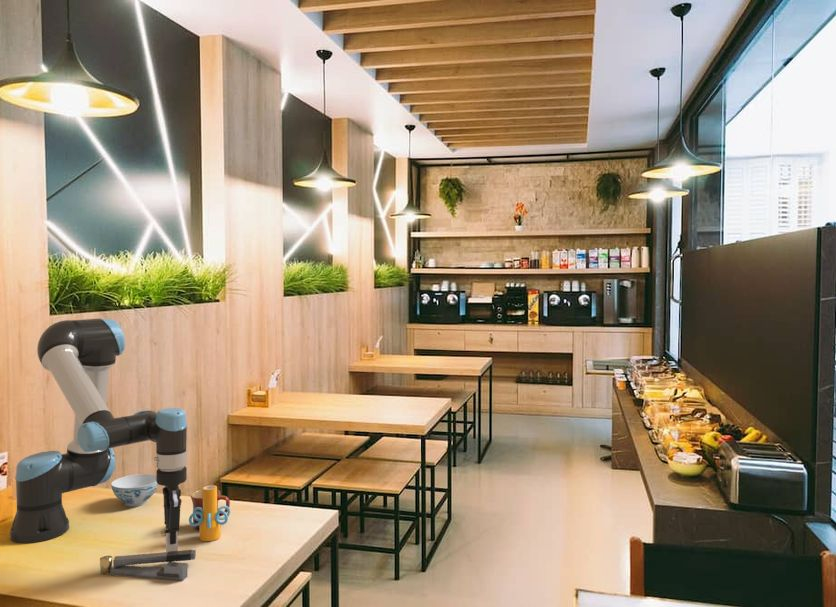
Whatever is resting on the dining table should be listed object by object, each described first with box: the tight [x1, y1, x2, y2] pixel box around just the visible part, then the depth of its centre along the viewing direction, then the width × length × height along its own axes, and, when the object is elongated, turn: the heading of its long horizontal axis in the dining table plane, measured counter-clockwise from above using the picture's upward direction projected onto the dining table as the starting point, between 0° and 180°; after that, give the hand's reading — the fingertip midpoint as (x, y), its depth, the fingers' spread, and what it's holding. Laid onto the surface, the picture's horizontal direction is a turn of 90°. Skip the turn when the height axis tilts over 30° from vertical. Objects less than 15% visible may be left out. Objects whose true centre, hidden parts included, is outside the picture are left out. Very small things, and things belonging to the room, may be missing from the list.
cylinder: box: [188, 484, 231, 542], centre depth 185 cm, size 12×10×15 cm
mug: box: [189, 489, 231, 530], centre depth 194 cm, size 12×9×10 cm
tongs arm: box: [112, 549, 197, 567], centre depth 166 cm, size 20×3×2 cm, turn 102°
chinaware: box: [110, 473, 159, 508], centre depth 214 cm, size 15×15×8 cm
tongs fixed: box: [99, 555, 188, 582], centre depth 161 cm, size 23×3×4 cm, turn 81°
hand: (172, 554), depth 169 cm, fingers closed
